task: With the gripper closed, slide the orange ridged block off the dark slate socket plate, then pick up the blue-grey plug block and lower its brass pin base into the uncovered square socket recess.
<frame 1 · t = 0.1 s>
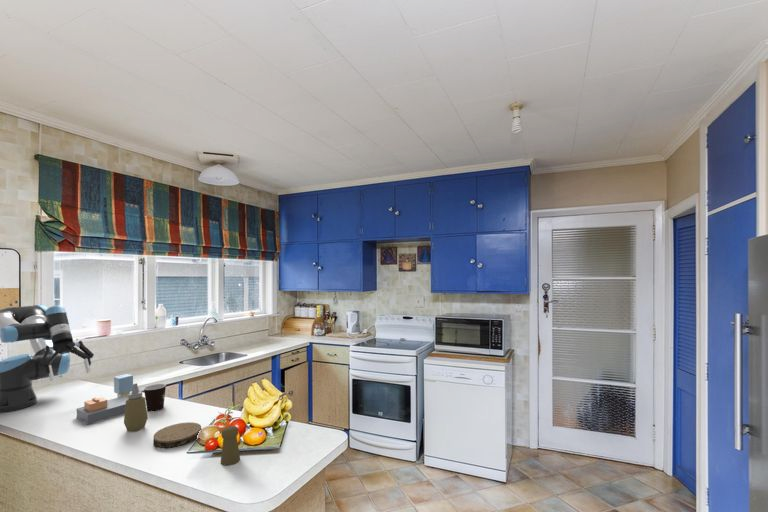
hand: (71, 375, 179), 15 cm above the counter, tool tilted 35°, fingers open, 13 cm apart
squeeze bottle: (136, 429, 155), on the counter
brown round disc: (178, 439, 146), on the counter
pepper mill: (230, 461, 128), on the counter
orange ridged block: (95, 403, 169), point 6 cm above the counter, slide at 0.0 cm
coffee mug: (158, 408, 178), on the counter
socket plate: (106, 414, 172), on the counter
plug: (123, 399, 190), on the counter
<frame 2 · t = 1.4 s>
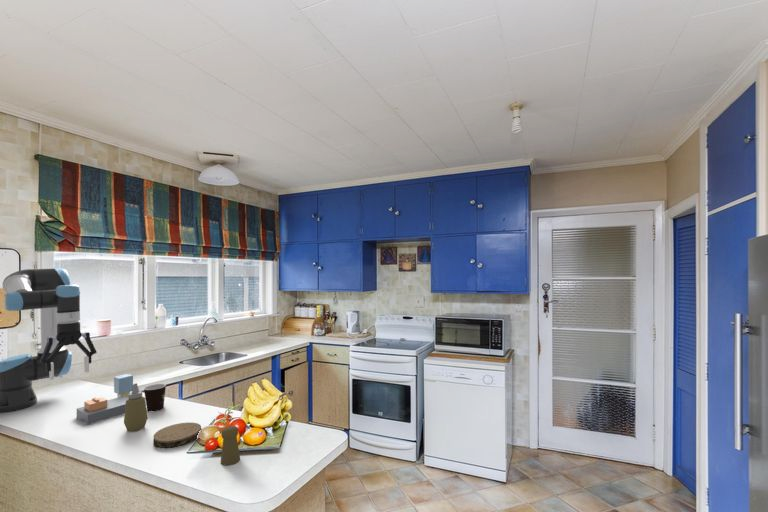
hand: (69, 375, 162), 20 cm above the counter, tool pointing down, fingers open, 11 cm apart
nothing on the counter moved.
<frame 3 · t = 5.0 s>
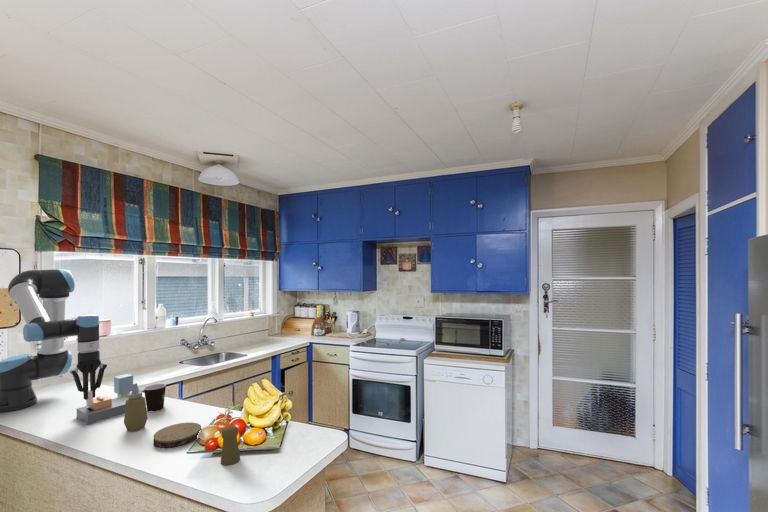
hand: (89, 406, 167), 5 cm above the counter, tool pointing down, fingers closed
orange ridged block: (100, 402, 170), point 6 cm above the counter, slide at 1.6 cm, touching gripper
everything else where it was.
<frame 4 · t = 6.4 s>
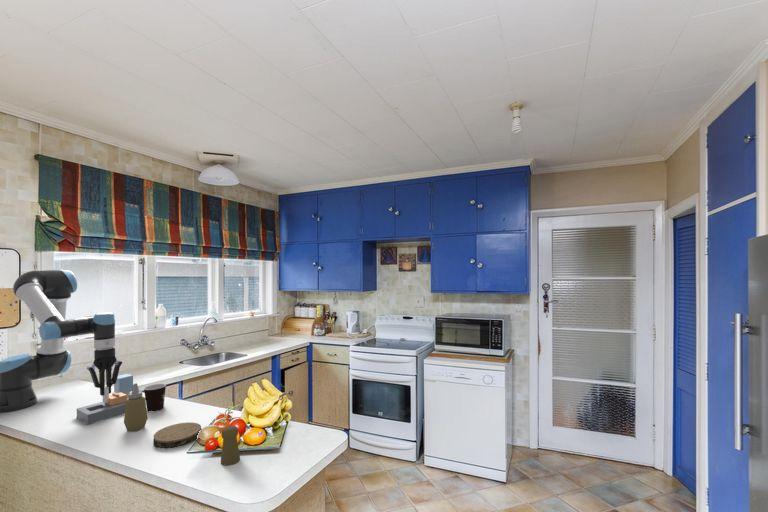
hand: (105, 401, 172), 5 cm above the counter, tool pointing down, fingers closed
orange ridged block: (115, 398, 175), point 6 cm above the counter, slide at 7.6 cm, touching gripper
everything else where it was.
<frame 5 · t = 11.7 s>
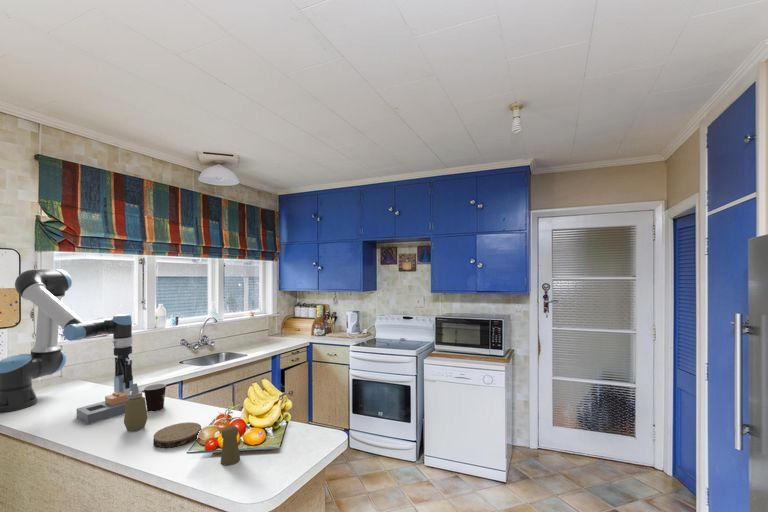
hand: (123, 393, 190), 3 cm above the counter, tool pointing down, fingers closed on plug, 6 cm apart
orange ridged block: (116, 397, 175), point 6 cm above the counter, slide at 7.7 cm
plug: (123, 399, 190), on the counter, touching gripper
everything else where it was.
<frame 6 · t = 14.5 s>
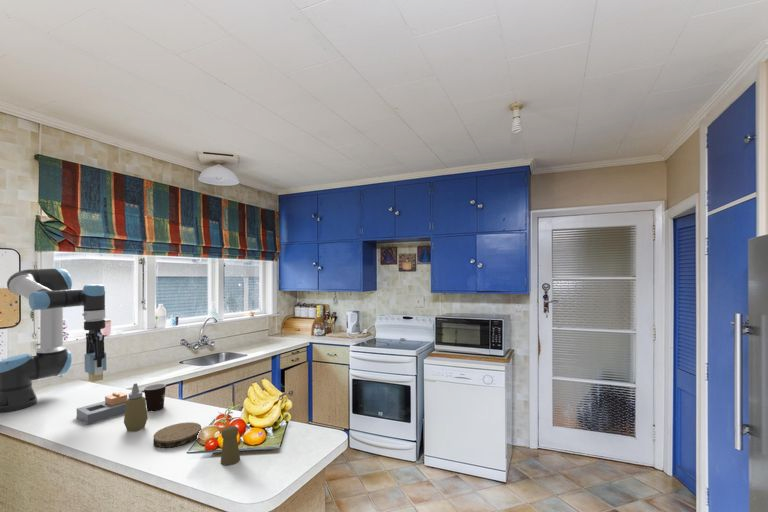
hand: (95, 373, 169), 19 cm above the counter, tool pointing down, fingers closed on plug, 6 cm apart
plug: (95, 380, 169), point 16 cm above the counter, touching gripper
everything else where it was.
when the fingers open (5 cm above the counter, at t = 17.3 s): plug drops 2 cm, resting on socket plate.
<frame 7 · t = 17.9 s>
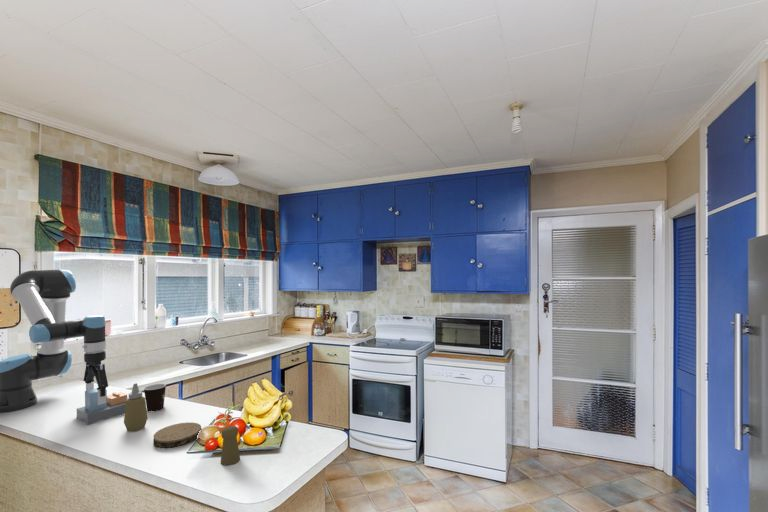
hand: (95, 400, 169), 7 cm above the counter, tool pointing down, fingers open, 13 cm apart
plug: (96, 417, 169), resting on socket plate
everything else where it was.
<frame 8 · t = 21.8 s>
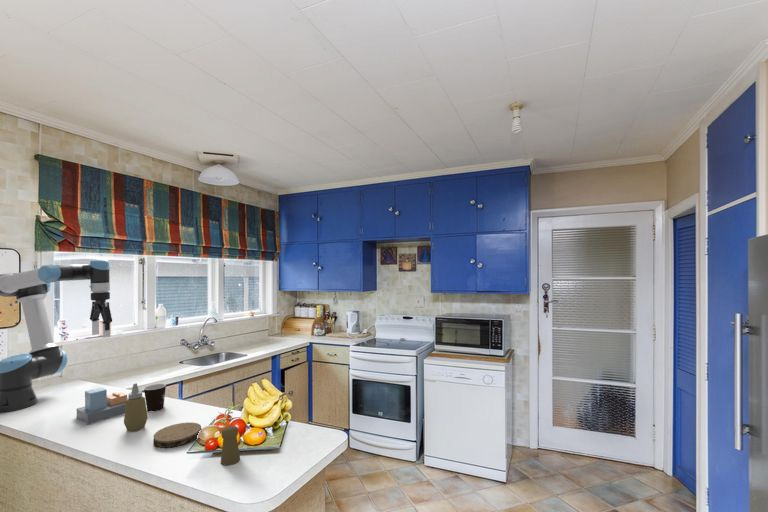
hand: (101, 335, 188), 32 cm above the counter, tool pointing down, fingers open, 13 cm apart
nothing on the counter moved.
at the end: orange ridged block slide at 7.7 cm; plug 0.0 cm from the target spot on the socket plate, point 0.0 cm above the socket plate's base; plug tilted 0° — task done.
